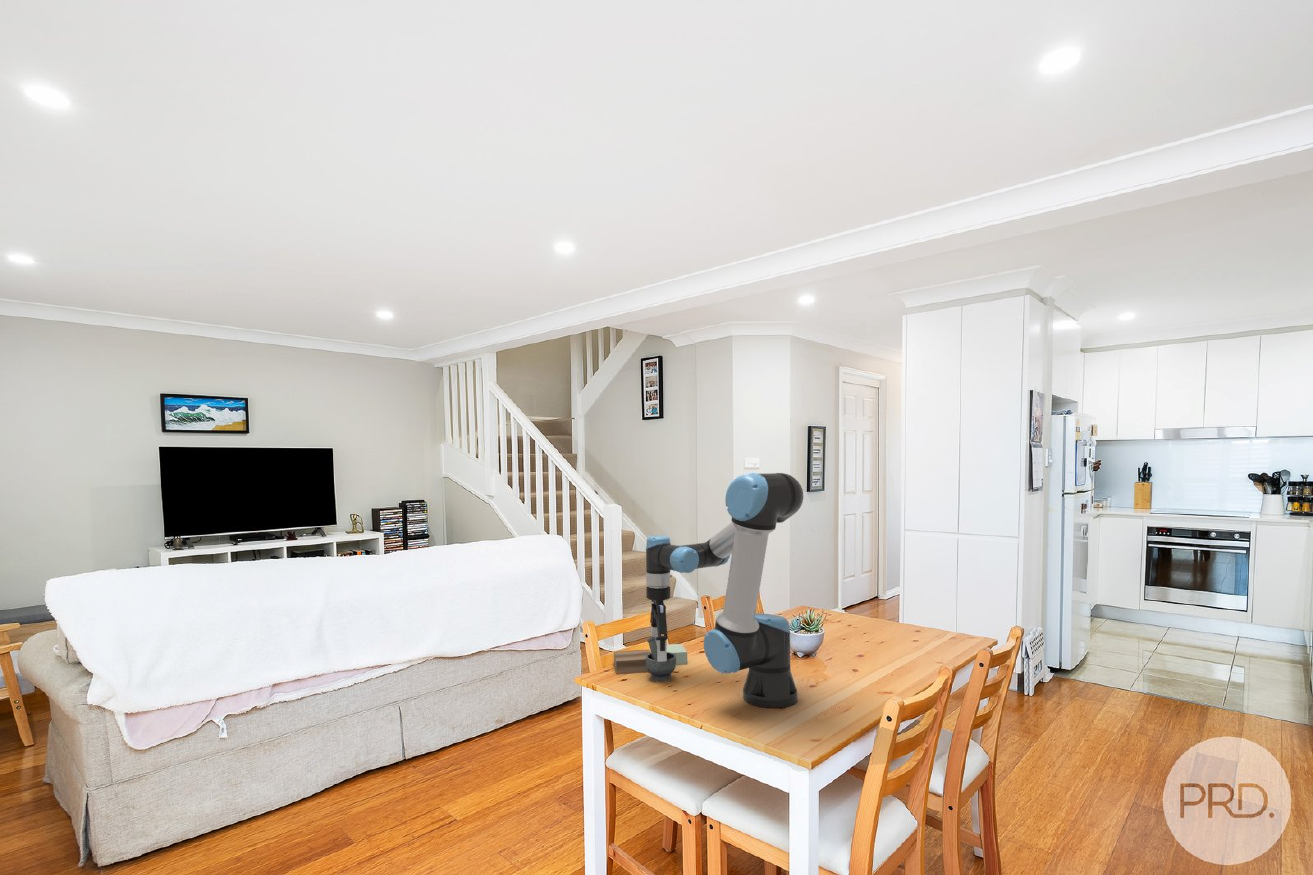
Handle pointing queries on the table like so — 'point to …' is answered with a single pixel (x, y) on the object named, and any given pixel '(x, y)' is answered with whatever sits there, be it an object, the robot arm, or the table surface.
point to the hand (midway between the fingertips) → (658, 654)
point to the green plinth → (678, 653)
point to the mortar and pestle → (659, 663)
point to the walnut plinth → (630, 661)
